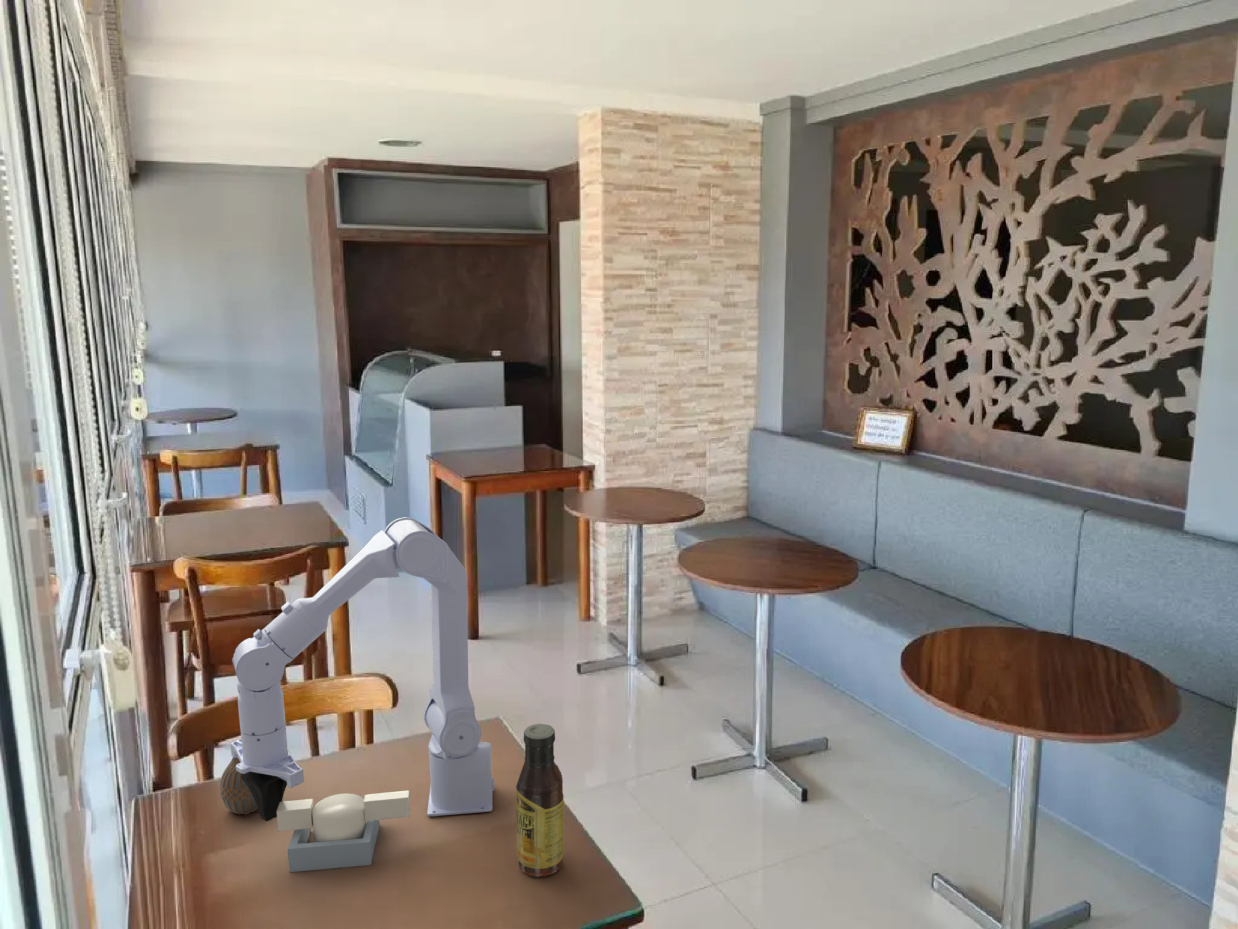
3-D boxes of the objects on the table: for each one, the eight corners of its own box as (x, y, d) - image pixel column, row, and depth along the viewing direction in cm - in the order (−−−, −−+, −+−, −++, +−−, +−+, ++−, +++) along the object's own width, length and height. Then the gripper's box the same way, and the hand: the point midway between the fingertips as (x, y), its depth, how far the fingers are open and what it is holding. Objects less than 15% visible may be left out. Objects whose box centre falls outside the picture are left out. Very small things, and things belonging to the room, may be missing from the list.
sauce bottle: (511, 858, 125) (507, 722, 122) (555, 847, 128) (551, 713, 124) (526, 886, 120) (522, 744, 116) (571, 874, 122) (568, 735, 118)
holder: (379, 824, 134) (378, 803, 133) (371, 865, 124) (369, 842, 124) (303, 831, 132) (302, 809, 132) (289, 872, 123) (287, 849, 122)
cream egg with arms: (412, 825, 133) (410, 780, 132) (410, 854, 127) (407, 807, 125) (287, 838, 131) (283, 793, 129) (277, 868, 124) (273, 821, 123)
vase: (279, 796, 142) (275, 743, 140) (258, 821, 135) (253, 766, 133) (236, 794, 142) (231, 741, 141) (213, 819, 136) (207, 764, 134)
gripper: (206, 722, 126) (215, 812, 129) (266, 753, 118) (274, 849, 120) (254, 703, 132) (261, 791, 134) (314, 732, 123) (321, 825, 126)
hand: (270, 817), depth 128 cm, fingers closed
